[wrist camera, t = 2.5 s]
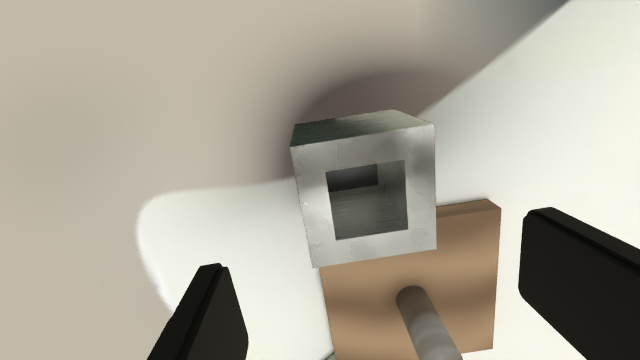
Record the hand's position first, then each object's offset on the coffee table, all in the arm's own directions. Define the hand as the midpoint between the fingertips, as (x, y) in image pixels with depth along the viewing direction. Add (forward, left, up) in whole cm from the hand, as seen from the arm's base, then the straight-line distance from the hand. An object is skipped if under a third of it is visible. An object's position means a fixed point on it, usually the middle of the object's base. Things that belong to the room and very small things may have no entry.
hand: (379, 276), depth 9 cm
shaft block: (+9, +4, -10) cm, 14 cm away
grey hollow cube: (-1, +1, -10) cm, 10 cm away
